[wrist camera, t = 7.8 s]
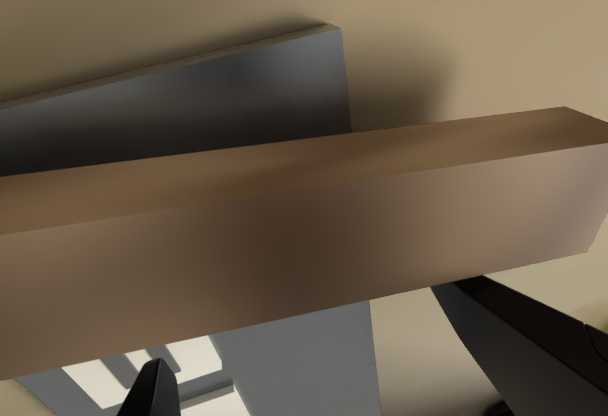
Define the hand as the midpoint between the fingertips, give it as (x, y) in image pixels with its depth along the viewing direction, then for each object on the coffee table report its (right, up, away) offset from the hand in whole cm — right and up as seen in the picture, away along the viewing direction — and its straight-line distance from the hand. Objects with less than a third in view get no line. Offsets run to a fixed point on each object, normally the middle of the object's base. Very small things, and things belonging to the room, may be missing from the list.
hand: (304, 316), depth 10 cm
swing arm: (-1, +3, -1) cm, 4 cm away
